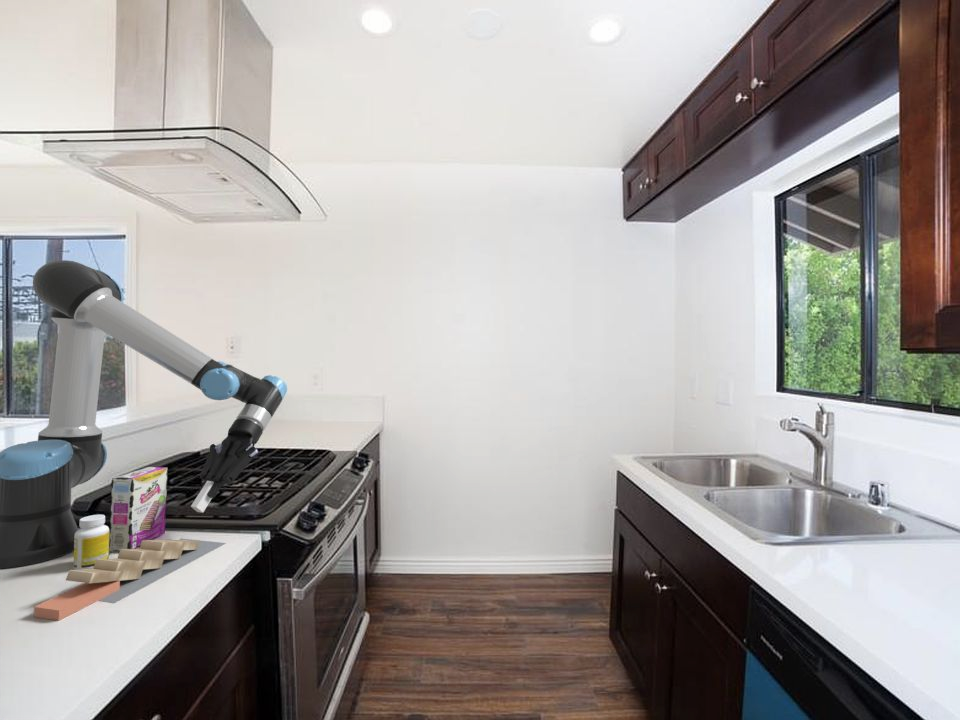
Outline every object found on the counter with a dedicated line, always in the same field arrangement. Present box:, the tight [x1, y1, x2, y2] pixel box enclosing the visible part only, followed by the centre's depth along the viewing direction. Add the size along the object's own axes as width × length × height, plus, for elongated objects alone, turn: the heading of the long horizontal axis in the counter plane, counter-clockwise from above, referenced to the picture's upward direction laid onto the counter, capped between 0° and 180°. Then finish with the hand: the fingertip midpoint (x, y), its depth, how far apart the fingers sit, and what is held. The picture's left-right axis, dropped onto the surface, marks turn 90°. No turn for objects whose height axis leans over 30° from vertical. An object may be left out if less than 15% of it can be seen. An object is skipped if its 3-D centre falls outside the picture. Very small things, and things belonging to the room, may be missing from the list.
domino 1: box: [33, 581, 120, 621], centre depth 77 cm, size 2×5×10 cm
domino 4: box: [117, 548, 182, 561], centre depth 90 cm, size 2×5×10 cm
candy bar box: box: [109, 466, 169, 553], centre depth 102 cm, size 11×5×16 cm, turn 0°
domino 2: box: [65, 569, 142, 584], centre depth 81 cm, size 2×5×10 cm
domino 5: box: [138, 539, 199, 551], centre depth 95 cm, size 2×5×10 cm
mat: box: [58, 537, 227, 604], centre depth 91 cm, size 26×12×1 cm, turn 170°
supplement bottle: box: [73, 514, 110, 570], centre depth 91 cm, size 5×5×10 cm
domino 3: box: [93, 557, 163, 571], centre depth 86 cm, size 2×5×10 cm
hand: (196, 509), depth 101 cm, fingers closed
